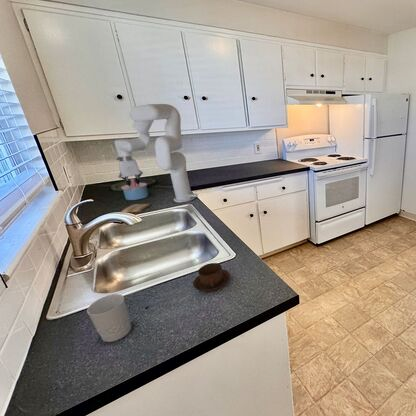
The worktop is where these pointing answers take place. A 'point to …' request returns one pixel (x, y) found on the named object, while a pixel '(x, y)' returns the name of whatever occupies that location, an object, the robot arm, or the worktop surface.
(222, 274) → the cup and saucer
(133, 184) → the plate lid
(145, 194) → the bowl
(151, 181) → the decorative plate
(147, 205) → the trivet
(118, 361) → the worktop surface
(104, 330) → the white cup
